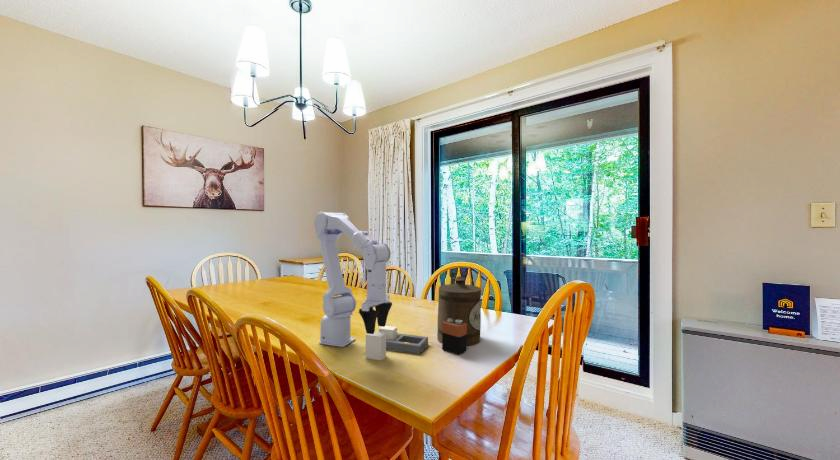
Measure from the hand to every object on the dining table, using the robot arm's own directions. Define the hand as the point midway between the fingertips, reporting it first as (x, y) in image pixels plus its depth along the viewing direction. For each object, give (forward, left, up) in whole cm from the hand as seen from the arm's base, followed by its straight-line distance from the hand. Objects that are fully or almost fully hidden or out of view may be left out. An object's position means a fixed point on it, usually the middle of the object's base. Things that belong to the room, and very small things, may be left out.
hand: (376, 329), depth 101 cm
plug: (0, 0, -8) cm, 8 cm away
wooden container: (+20, +24, -9) cm, 32 cm away
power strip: (+3, +11, -8) cm, 14 cm away
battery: (+21, +13, -9) cm, 26 cm away
